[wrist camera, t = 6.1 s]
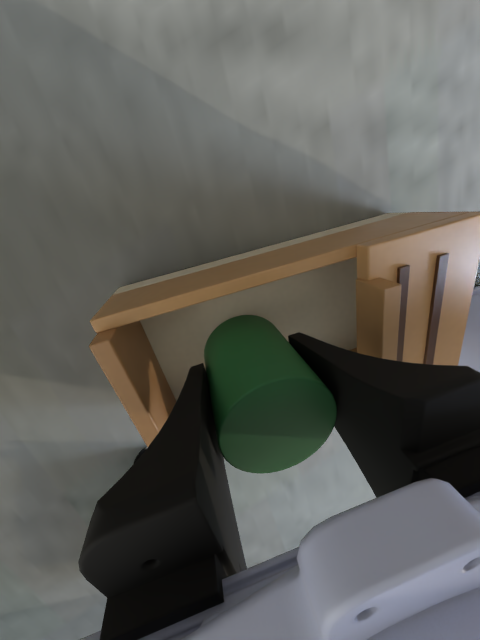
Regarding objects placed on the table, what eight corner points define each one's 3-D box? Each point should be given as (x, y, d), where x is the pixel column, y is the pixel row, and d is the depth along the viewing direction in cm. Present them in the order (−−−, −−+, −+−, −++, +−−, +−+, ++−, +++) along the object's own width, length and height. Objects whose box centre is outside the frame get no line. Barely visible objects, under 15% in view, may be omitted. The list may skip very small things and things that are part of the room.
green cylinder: (274, 303, 13) (334, 359, 8) (286, 370, 15) (340, 449, 10) (193, 328, 12) (201, 404, 7) (216, 394, 14) (234, 489, 9)
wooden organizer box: (389, 212, 16) (525, 210, 10) (384, 330, 20) (479, 384, 13) (118, 287, 14) (67, 345, 8) (171, 402, 18) (166, 503, 12)
